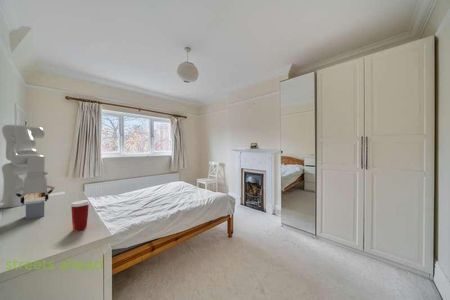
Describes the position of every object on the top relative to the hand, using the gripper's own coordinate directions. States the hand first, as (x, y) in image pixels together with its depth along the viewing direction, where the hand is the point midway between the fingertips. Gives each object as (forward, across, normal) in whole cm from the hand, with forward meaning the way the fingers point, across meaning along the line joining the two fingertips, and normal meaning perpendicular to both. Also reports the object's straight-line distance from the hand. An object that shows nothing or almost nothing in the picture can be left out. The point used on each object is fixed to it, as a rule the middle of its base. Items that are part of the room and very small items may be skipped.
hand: (34, 202), depth 110 cm
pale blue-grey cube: (+8, 0, +1) cm, 9 cm away
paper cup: (+7, -16, +43) cm, 47 cm away
